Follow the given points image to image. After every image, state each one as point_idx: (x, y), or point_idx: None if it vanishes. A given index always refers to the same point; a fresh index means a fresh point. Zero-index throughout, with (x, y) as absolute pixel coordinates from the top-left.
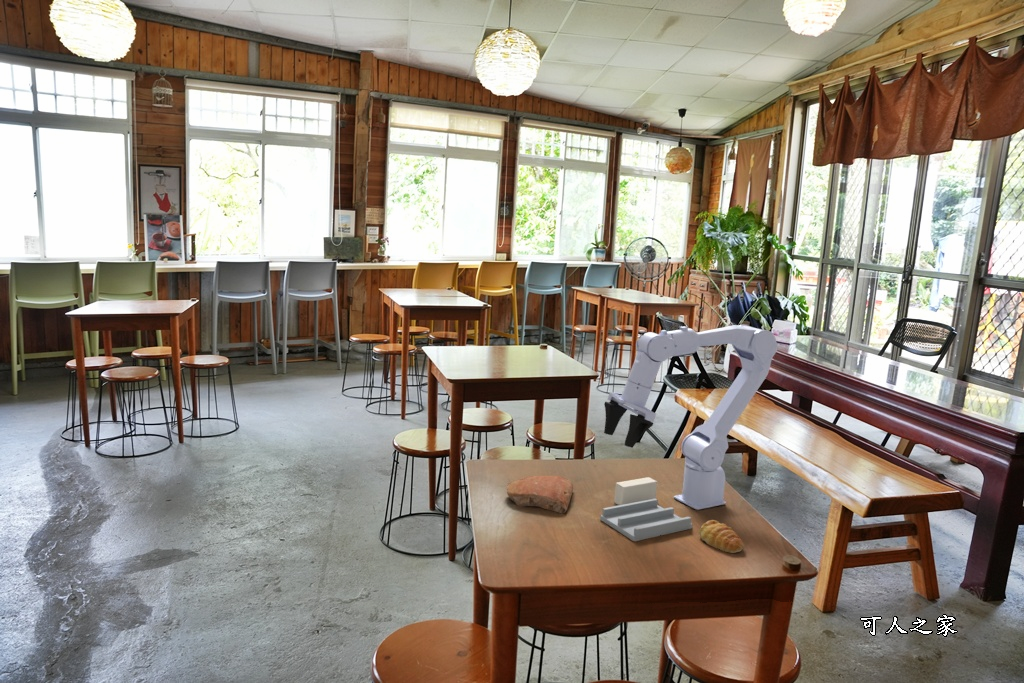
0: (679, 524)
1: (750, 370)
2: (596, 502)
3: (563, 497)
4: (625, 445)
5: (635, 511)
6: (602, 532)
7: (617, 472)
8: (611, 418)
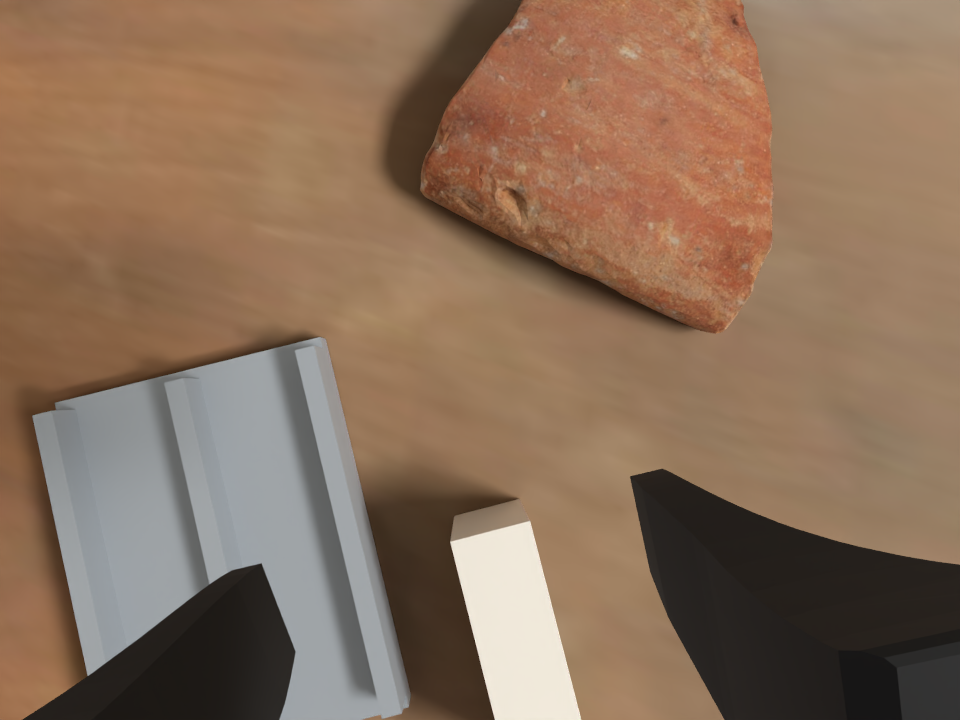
0: None
1: None
2: (533, 404)
3: (465, 173)
4: (243, 568)
5: (336, 543)
6: (189, 294)
7: None
8: (725, 618)
